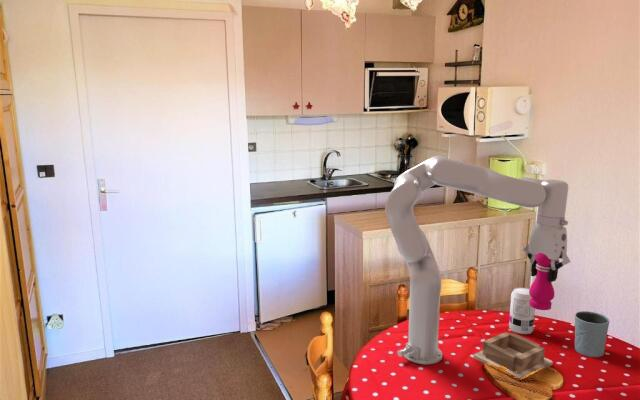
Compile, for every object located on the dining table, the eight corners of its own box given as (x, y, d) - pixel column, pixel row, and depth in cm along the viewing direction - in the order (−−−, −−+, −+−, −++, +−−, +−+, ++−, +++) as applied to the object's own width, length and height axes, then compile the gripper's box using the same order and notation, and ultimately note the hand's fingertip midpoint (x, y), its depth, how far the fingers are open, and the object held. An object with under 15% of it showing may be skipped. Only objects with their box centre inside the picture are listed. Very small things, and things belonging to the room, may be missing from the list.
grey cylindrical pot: (597, 361, 159) (601, 326, 157) (566, 349, 167) (569, 316, 164) (610, 351, 165) (614, 317, 163) (579, 340, 173) (582, 308, 171)
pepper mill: (555, 312, 151) (563, 249, 147) (530, 309, 152) (537, 247, 148) (549, 303, 158) (557, 242, 154) (525, 300, 159) (532, 240, 155)
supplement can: (504, 326, 184) (506, 288, 181) (522, 323, 186) (525, 285, 183) (518, 336, 176) (522, 296, 173) (538, 333, 179) (541, 293, 176)
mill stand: (519, 381, 148) (520, 364, 147) (473, 357, 162) (474, 341, 161) (552, 364, 157) (553, 348, 156) (506, 343, 171) (507, 328, 170)
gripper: (584, 225, 145) (576, 284, 148) (531, 214, 158) (525, 268, 162) (570, 229, 140) (562, 289, 144) (517, 216, 154) (511, 272, 158)
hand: (543, 277), depth 153 cm, fingers closed on pepper mill, 5 cm apart
